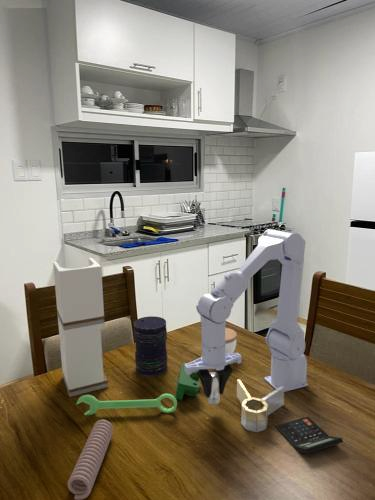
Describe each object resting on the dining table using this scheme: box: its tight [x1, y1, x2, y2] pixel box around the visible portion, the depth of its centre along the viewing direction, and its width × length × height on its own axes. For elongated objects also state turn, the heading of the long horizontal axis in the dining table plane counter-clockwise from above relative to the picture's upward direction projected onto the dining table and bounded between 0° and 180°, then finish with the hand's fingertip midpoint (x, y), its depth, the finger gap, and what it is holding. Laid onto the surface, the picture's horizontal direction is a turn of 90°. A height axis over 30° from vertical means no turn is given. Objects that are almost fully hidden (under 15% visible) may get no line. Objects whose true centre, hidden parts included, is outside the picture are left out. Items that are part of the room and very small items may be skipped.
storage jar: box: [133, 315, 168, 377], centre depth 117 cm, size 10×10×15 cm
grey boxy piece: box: [52, 257, 109, 398], centre depth 107 cm, size 11×11×35 cm
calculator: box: [274, 416, 344, 455], centre depth 87 cm, size 9×12×3 cm
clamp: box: [174, 363, 201, 401], centre depth 105 cm, size 11×6×8 cm, turn 171°
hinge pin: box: [207, 371, 221, 405], centre depth 95 cm, size 3×3×7 cm
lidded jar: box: [225, 327, 238, 354], centre depth 125 cm, size 11×11×9 cm
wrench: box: [76, 393, 178, 416], centre depth 96 cm, size 25×2×5 cm, turn 92°
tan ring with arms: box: [236, 378, 285, 433], centre depth 97 cm, size 14×14×5 cm
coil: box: [67, 419, 114, 500], centre depth 79 cm, size 5×5×18 cm
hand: (213, 393), depth 96 cm, fingers closed on hinge pin, 3 cm apart
